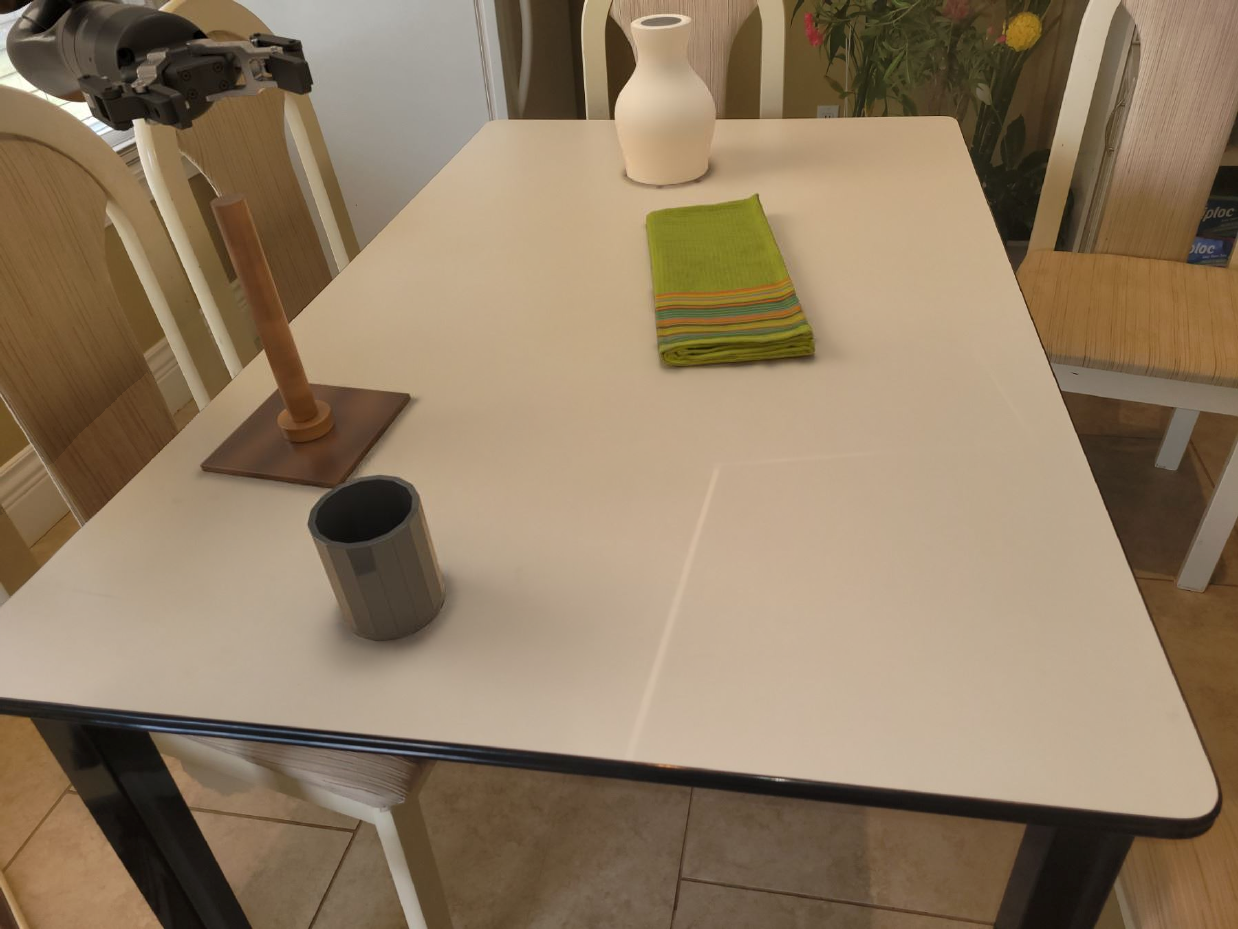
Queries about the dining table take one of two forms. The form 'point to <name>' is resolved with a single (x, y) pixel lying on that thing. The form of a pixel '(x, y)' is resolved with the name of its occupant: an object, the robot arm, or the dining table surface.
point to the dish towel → (722, 286)
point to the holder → (378, 556)
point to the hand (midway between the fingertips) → (246, 94)
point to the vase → (664, 106)
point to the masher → (270, 322)
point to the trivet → (311, 462)
